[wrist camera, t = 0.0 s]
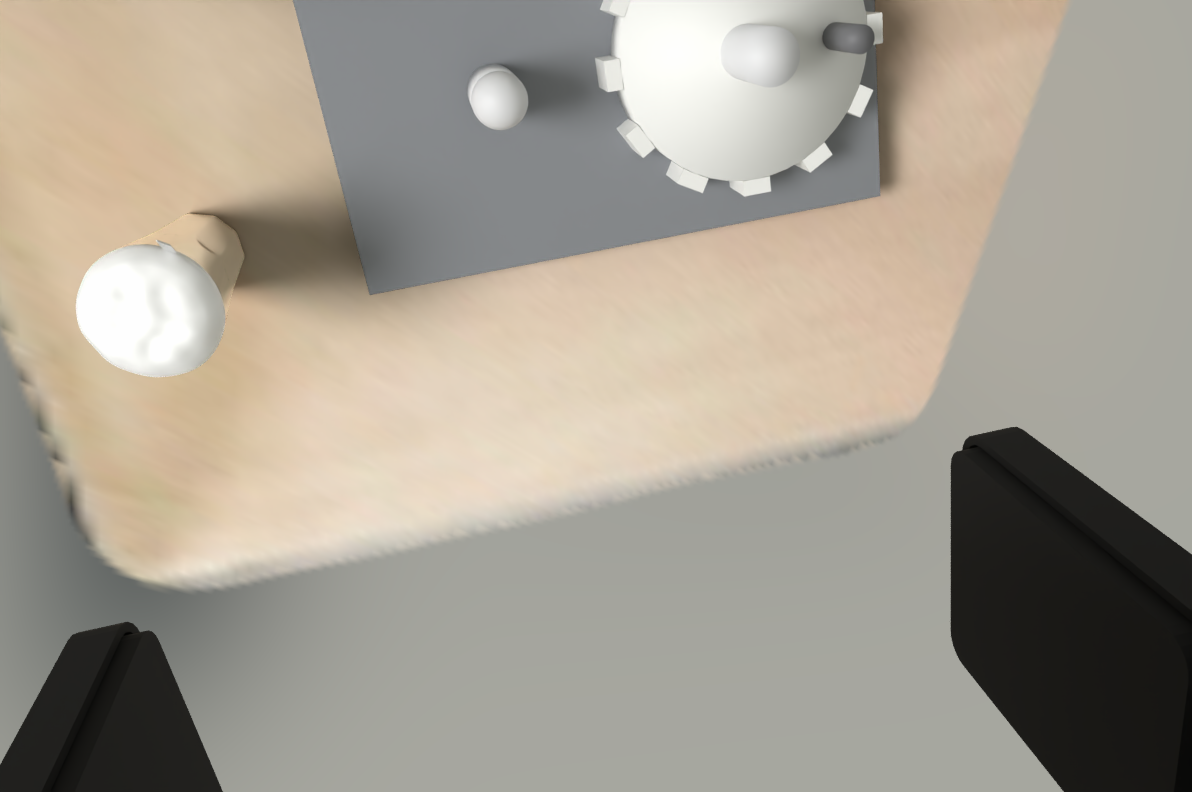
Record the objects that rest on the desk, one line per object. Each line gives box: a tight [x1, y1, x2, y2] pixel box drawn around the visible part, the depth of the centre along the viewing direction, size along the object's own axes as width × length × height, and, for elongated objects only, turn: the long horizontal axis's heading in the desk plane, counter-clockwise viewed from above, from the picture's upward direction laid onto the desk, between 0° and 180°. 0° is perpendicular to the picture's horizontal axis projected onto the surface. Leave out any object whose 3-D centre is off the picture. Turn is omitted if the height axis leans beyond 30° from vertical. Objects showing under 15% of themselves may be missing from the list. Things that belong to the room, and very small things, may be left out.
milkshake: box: [76, 213, 245, 377], centre depth 34 cm, size 4×5×10 cm
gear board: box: [293, 0, 883, 295], centre depth 36 cm, size 14×22×6 cm, turn 99°
